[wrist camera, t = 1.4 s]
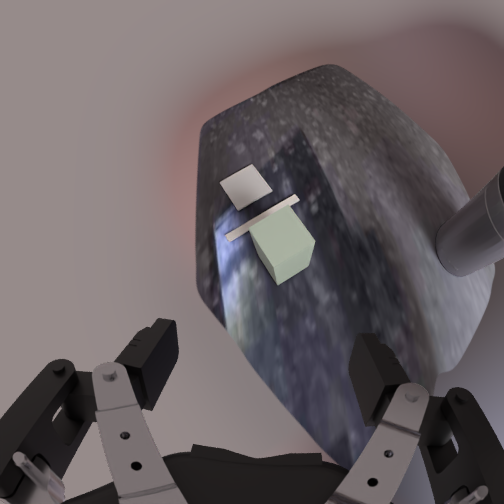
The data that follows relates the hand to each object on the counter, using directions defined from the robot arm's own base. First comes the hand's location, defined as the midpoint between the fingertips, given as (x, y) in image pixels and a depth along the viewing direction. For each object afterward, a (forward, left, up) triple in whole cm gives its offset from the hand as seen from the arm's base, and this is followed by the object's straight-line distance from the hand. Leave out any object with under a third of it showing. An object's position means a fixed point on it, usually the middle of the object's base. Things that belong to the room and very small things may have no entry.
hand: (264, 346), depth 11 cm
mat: (-7, -22, -24) cm, 34 cm away
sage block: (-6, -9, -24) cm, 27 cm away
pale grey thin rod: (-7, -16, -24) cm, 30 cm away
